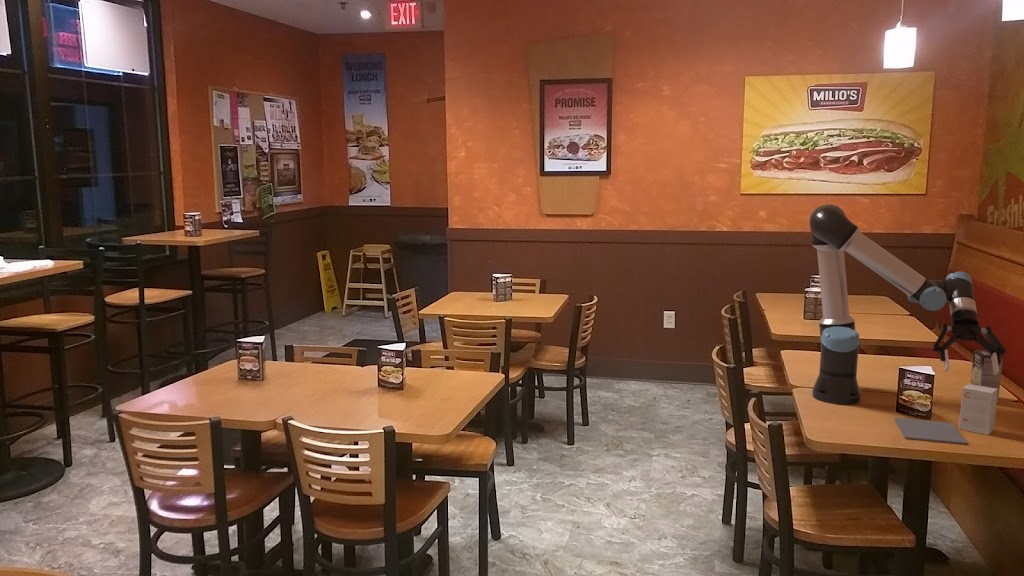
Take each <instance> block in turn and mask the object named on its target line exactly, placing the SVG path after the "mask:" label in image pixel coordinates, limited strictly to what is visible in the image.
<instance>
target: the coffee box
mask: <svg viewBox="0 0 1024 576" xmlns="http://www.w3.org/2000/svg"><path fill="white" fill-rule="evenodd" d="M972 356H973V358H972V365H971V368H972V369H971V376H970V384H973V385H979V386H985V387H990V388H996V389H998V392H997V403H996V404H998V403H999V398H1000V387H1001V380H1002V373H1003V372H1002V371H1003V361H1004V356H1001V355H1000V358H1001V363H1000V365H998V367H999V372H998V374H997V375H994V372H993V366H992V360H991V356H992V354H991V353H990V352H988V351H987V350H986V349H983V350H982V349H974V350H973V355H972Z"/></svg>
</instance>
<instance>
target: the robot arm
mask: <svg viewBox="0 0 1024 576" xmlns="http://www.w3.org/2000/svg"><path fill="white" fill-rule="evenodd" d="M809 228H810V236H811V246H812V247H813V248H814V249H816V251H817V253H816V254H817V264H818V265H817V266H818V276H819V277H818V278H819V285H820V287H819V288H820V299H821V307H822V308H821V310H822V318H820V319H819V321H818V326H819V327H818V328H819V343H820V360H819V372H818V376H817V378H816V381H815V383H814V385H813V387H812V392H811V393H812V394H811V395H812V397H813V398H814V399H817V400H819V401H821V400H822V402H825V401H826V402H825V403H830V402H833V403H832V404H837V403H844V404H843V405H850V404H851V403H853V404H858V403H860V402H861V395H862V394H861V389H860V387H859V382H858V379H857V374H858V373H857V372H858V360H859V350H860V349H859V348H860V344H861V343H860V341H861V340H860V333H859V332H858V331H857V330H856V323H855V320H856V319H855V318H853V316H851V315H850V309H849V299H848V298H849V295H848V286H847V285H848V284H847V283H848V282H847V273H846V272H847V271H846V262H845V252H846V253H847V254H849V255H850V256H852V257H853V258H855V259H856V260H857V261H859V262H860V263H862V264H863V265H864V266H866V267H868V268H869V269H870V270H872V271H873V272H875V273H876V274H878V275H879V276H880V277H882V278H883V279H884V280H886V281H887V282H888V283H890V284H891V285H893V286H894V287H896V288H897V289H899V290H900V291H902V292H903V294H905V295H907V300H908V302H910V303H916V304H917V303H918V304H920V305H921V307H922V308H924V309H925V310H927V311H931V312H932V311H933V312H935V311H938V310H941V309H942V308H944V306H945V305H946V303H948V306H949V313H950V322H951V326H950V325H947V323H943V324H942V327H941V329H940V331H941V332H940V334H939V335H938V338H937V339H936V341H935V343H934V344H933V347H932V351H933V352H938V355H939V360H940V362H943V367H944V372H945V373H949V370H950V369H951V368H950V367H951V366H950V360H949V351H948V349H949V348H950V347H951V346H952V345H953V344H954V343H956V342H957V340H960V341H969V342H971V341H974V342H975V343H976V344H978V345H980V346H981V347H982V348H984V350H987V351H988V352H990V353H991V354H992V356H991V360H992V366H993V372H994V375H997V374H998V372H999V367H998V365H1000V363H1001V358H1000V355H1001V356H1002V357H1004V355H1005V354H1006V352H1007V349H1006V348H1005V346H1004V345H1003V344H1002V342H1001V341H1000V340H999V339H998V338H997V336H996V335H995V334H994V333H993V331H992V327H990V326H986V327H981V326H980V325H979V324H980V323H979V316H978V311H977V306H976V305H977V304H976V300H975V292H974V284H973V281H972V277H971V275H970V274H968V273H967V272H964V271H955V272H952V273H949V274H948V275H947V276H946V278H945V279H927V278H926V277H925V276H923V274H920V273H919V272H917V271H916V270H914V269H913V268H912V267H910V266H909V265H908V264H906V263H905V262H903V261H902V260H901V259H899V258H898V257H897V256H895V255H893V254H892V253H891V252H889V251H887V250H886V249H885V248H883V247H882V246H880V245H878V244H877V243H876V242H875V241H873V240H872V239H870V238H869V237H868V236H866V235H864V234H863V233H862V232H860V228H859V226H857V225H856V224H855V223H854V222H852V221H851V220H850V219H849V218H848V217H847V216H846V214H845V212H844V211H843V209H842V208H840V207H839V206H838V205H835V204H823V205H820V206H818V207H816V208H815V209H814V210H813V211H812V212H811V214H810V217H809ZM949 332H952V334H953V335H952V336H950V338H949V339H947V340H946V341H945V342H944V343H943V344H942V345H941V343H942V341H943V339H944V338H945V336H946V334H947V333H949ZM985 337H986V338H985ZM940 345H941V346H940ZM851 405H852V404H851Z"/></svg>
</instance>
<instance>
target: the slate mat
mask: <svg viewBox="0 0 1024 576" xmlns="http://www.w3.org/2000/svg"><path fill="white" fill-rule="evenodd" d="M894 419H895V420H894ZM893 420H894V422H895V421H896V422H895V423H897V424H896V425H897V427H898V426H899V427H898V429H899V428H900V429H899V431H900V430H901V431H900V433H901V434H902V436H903V438H904V440H912V441H913V440H915V441H923V442H933V443H934V442H935V443H943V444H944V442H945V444H946V443H947V444H955V445H968V442H967V441H966V440H965V438H964V437H963V435H962V434H961V433H960V431H959V429H957V428H956V426H955V425H954V424H953V423H952V422H951V421H949V422H948V421H935V420H926V419H924V420H923V419H916V418H915V419H914V418H904V417H903V418H902V417H894V418H893Z"/></svg>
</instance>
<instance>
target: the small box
mask: <svg viewBox="0 0 1024 576" xmlns="http://www.w3.org/2000/svg"><path fill="white" fill-rule="evenodd" d="M961 391H962V392H961V400H960V411H959V422H958V430H962V431H967V432H972V433H977V434H980V435H981V434H982V435H986V436H989V435H991V433H992V432H993V431H994V430H995V420H996V412H997V404H998V403H997V392H998V389H996V388H990V387H985V386H979V385H973V384H971V383H968V384H966V385H965V386H962V390H961Z"/></svg>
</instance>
